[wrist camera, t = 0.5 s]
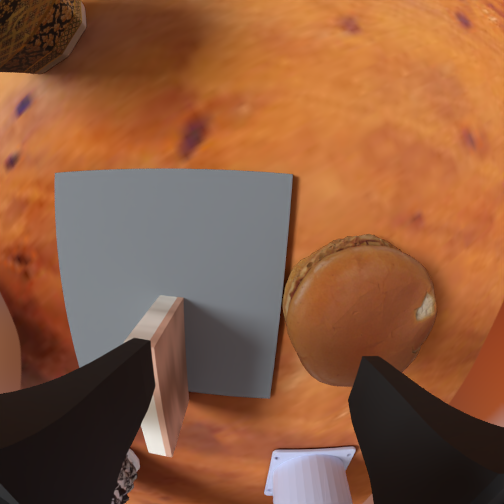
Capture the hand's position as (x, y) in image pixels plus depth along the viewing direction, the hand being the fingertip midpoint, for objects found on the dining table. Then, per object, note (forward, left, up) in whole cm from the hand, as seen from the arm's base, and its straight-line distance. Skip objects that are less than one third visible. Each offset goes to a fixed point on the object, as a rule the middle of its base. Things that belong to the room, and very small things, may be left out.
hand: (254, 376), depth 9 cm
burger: (-1, -7, -10) cm, 12 cm away
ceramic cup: (+18, +18, -10) cm, 27 cm away
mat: (-1, +6, -10) cm, 12 cm away
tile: (-6, +5, -9) cm, 12 cm away
